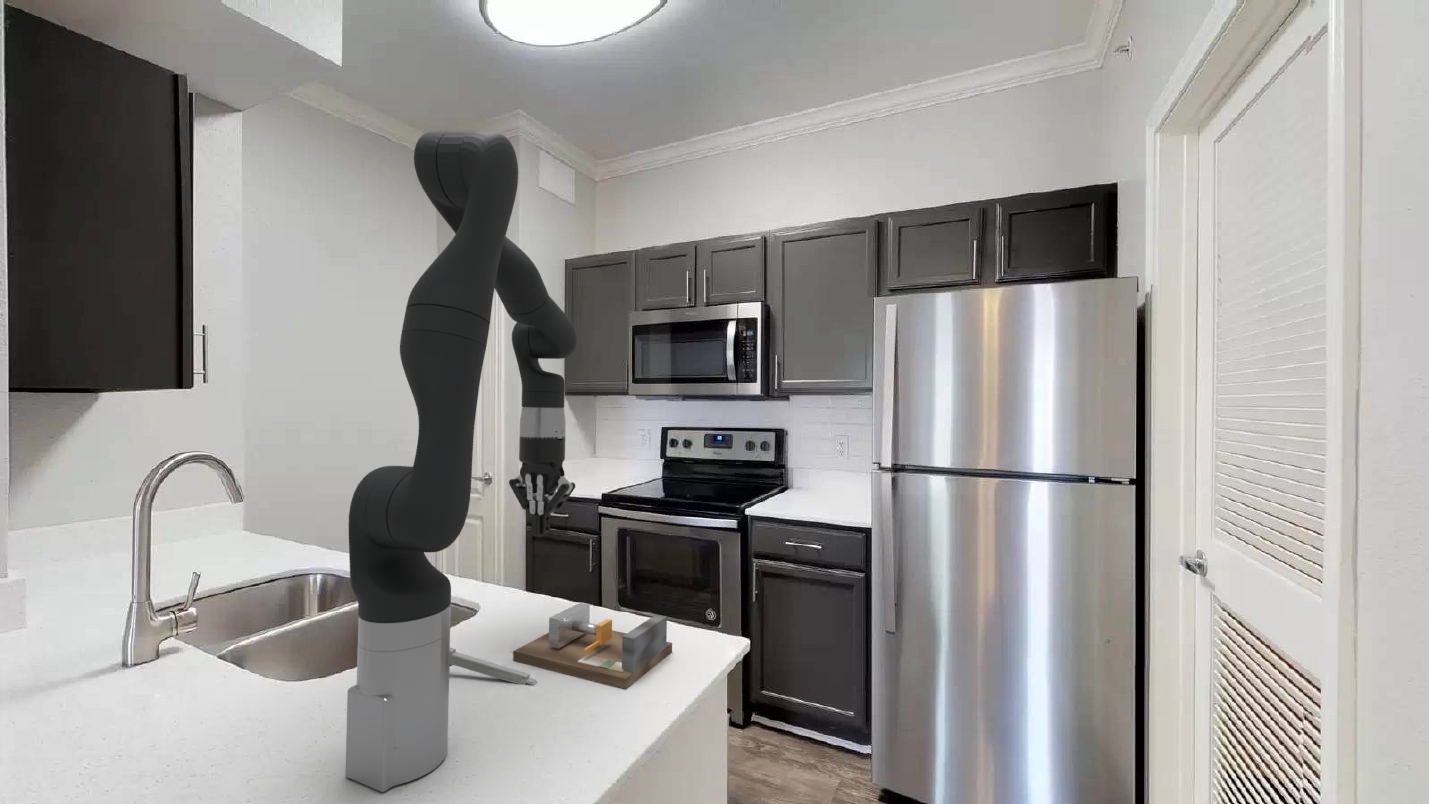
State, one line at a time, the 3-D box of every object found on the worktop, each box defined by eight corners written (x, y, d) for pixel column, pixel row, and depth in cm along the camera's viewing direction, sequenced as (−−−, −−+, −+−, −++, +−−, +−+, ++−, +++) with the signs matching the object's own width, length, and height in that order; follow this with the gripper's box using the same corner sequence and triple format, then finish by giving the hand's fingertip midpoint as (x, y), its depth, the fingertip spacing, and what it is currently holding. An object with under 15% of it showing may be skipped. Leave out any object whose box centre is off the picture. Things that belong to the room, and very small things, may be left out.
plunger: (584, 654, 88) (585, 625, 88) (548, 646, 91) (549, 617, 91) (613, 636, 96) (614, 609, 96) (579, 628, 99) (580, 602, 99)
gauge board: (625, 689, 82) (626, 643, 82) (513, 660, 90) (513, 619, 90) (671, 651, 95) (672, 612, 95) (569, 629, 103) (570, 593, 103)
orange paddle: (587, 654, 87) (587, 634, 87) (582, 652, 87) (582, 632, 87) (611, 638, 93) (612, 619, 93) (606, 637, 93) (607, 618, 93)
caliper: (406, 675, 86) (407, 633, 86) (411, 671, 87) (411, 630, 87) (534, 687, 82) (534, 643, 83) (537, 683, 84) (538, 640, 84)
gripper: (496, 433, 97) (494, 536, 97) (559, 436, 91) (557, 545, 91) (528, 432, 104) (526, 527, 103) (587, 434, 98) (586, 535, 98)
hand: (540, 535), depth 97 cm, fingers closed
